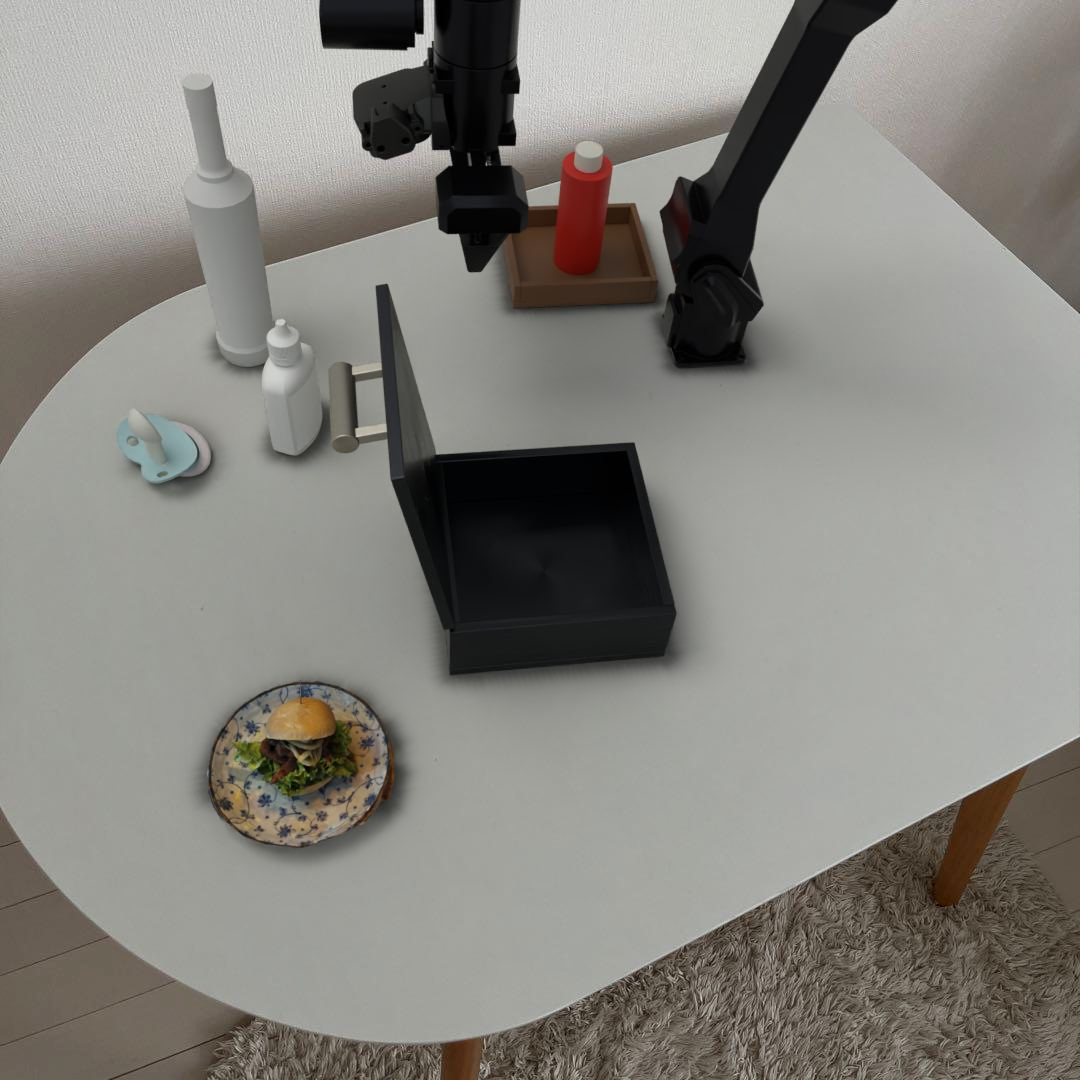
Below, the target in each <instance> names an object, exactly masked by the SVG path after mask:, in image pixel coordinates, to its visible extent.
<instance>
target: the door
mask: <svg viewBox="0 0 1080 1080" xmlns="http://www.w3.org/2000/svg"><path fill="white" fill-rule="evenodd" d="M391 293H392V292H391V290H390V286H389V283H382V284H376V285H375V299H376V313H377V324H378V326H377V327H378V336H379V349H380V361H377V362H372V363H371V362H370V363H365V364H360V365H359V364H358V365H353V364H351V363H349V362H346V361H337V362H334V363H333V364H331V365H330V366H329V368H328V373H327V375H328V394H329V395H328V396H329V420H330V421H329V422H330V423H329V424H330V446H331V448H332V449H333V450H334V451H335V452H337V453H339V454H350V453H351V454H352V453H353V452H355V451H356V450H358V448H359V447H360V445H363V444H368V443H373V442H380V441H386V440H387V451H388V453H387V454H388V463H389V465H388V466H389V478H390V482H391V484H392V488H393V491H394V493H395V496H396V499H397V502H398V505H399V507H400V511H401V513H402V516H403V519H404V522H405V524H406V527H407V529H408V534H409V536H410V538H411V541H412V544H413V547H414V550H415V553H416V556H417V558H418V562H419V565H420V566H421V570H422V572H423V576H424V578H425V582H426V584H427V587H428V589H429V592H430V595H431V598H432V602H433V604H434V607H435V609H436V612H437V616H438V618H439V621H440V623H441V626H442V629H443V631H445V630H448V629H454V628H455V620H454V611H453V602H452V593H451V584H450V574H449V565H448V556H447V547H446V538H445V529H444V520H443V511H442V502H441V493H440V484H439V475H438V466H437V457H436V454H437V450H436V446H435V442H434V439H433V436H432V432H431V429H430V424H429V421H428V418H427V414H426V411H425V408H424V404H423V401H422V396H421V394H420V390H419V387H418V384H417V380H416V377H415V373H414V370H413V366H412V362H411V359H410V356H409V352H408V349H407V346H406V342H405V338H404V334H403V332H402V328H401V324H400V321H399V318H398V313H397V311H396V308H395V304H394V300H393V297H392V294H391ZM380 378H382V388H383V389H382V390H383V401H384V413H385V414H384V415H385V422H383V423H378V424H372V425H371V424H370V425H366V426H360V427H359V417H358V416H359V415H358V399H357V384H356V383H359V382H364V381H370V380H376V379H380Z"/></svg>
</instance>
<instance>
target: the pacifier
mask: <svg viewBox="0 0 1080 1080" xmlns="http://www.w3.org/2000/svg"><path fill="white" fill-rule="evenodd" d="M115 438H116V444H117V446H118V448H119V450H120V451H121V453H122V454H123V455H124V457H126V458H127V459H128V460H129V461H131V462H133V463H135V464H138V465H140V466H141V468H140V469H141V470H140V471H141V475H142V477H143V478H144V480H145V481H146V482H148V483H151V484H162V483H166V482H168V481H171V480H173V479H175V478H177V477H184V478H185V477H187V478H188V477H195V476H198V475H201V474H202V473H204V471H206V470H207V469H208V467H209V465H210V464H211V461H212V451H211V447H210V445H209V443H208V441H207V440H206V439H205V437H204V436H203V435H202V434H201V433H200V432H199V431H198V430H197V429H196V428H193V427H192V426H190V425H188V424H186V423H182V422H180V421H173V420H170V419H167V418H165V417H164V416H162V415H157V414H152V413H143V412H142V411H140V410H139V409H138V408H137V407H133V408H132V409H130V411H129V413H128V417H126V418H125V419H123V420H122V422H121V423H120V424H119V425H118V428H117V430H116V437H115ZM130 439H135V440H137V441H138V443H137V444H136V445H132V444H129V443H128V442H129V440H130ZM197 449H198V450H197ZM198 451H199V452H198ZM198 453H199V455H198Z"/></svg>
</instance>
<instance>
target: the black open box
mask: <svg viewBox="0 0 1080 1080" xmlns="http://www.w3.org/2000/svg"><path fill="white" fill-rule="evenodd" d="M436 457H437V466H438V475H439V484H440V493H441V502H442V511H443V520H444V529H445V538H446V547H447V556H448V565H449V574H450V584H451V593H452V602H453V611H454V620H455V628H454V629H448V630H444V635H445V645H446V646H445V647H446V654H447V655H446V656H447V665H448V674H449V676H457V675H469V674H470V675H471V674H480V673H491V672H502V671H513V670H524V669H526V670H527V669H536V668H547V667H558V666H559V667H560V666H569V665H580V664H581V665H582V664H592V663H603V662H613V661H625V660H636V659H637V660H638V659H647V658H648V659H649V658H659V657H664V656H665V654H666V652H667V647H668V644H669V640H670V638H671V634H672V631H673V628H674V625H675V622H676V618H677V615H678V612H677V608H676V605H675V604H676V603H675V600H674V596H673V592H672V588H671V587H672V586H671V584H670V579H669V575H668V571H667V567H666V563H665V558H664V554H663V551H662V547H661V543H660V539H659V535H658V530H657V527H656V526H657V525H656V522H655V518H654V514H653V511H652V507H651V503H650V500H649V499H650V498H649V494H648V490H647V487H646V483H645V478H644V474H643V471H642V466H641V462H640V458H639V454H638V450H637V447H636V442H635V441H631V442H630V441H629V442H614V443H598V444H597V443H596V444H583V445H582V444H581V445H567V446H566V445H565V446H551V447H533V448H517V449H503V450H502V449H501V450H485V451H467V452H453V453H439V454H438V453H436Z"/></svg>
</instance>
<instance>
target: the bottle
mask: <svg viewBox="0 0 1080 1080" xmlns="http://www.w3.org/2000/svg"><path fill="white" fill-rule="evenodd" d="M181 85H182V91H183V94H184V99H185V104H186V108H187V110H188V114H189V120H190V124H191V129H192V134H193V139H194V145H195V149H196V153H197V158H198V162H197V163H196V165H195V168H194V169H195V170H194V171H193V172H192V173H190V174H189V175H188V176H187V177H186V178H185V179H184V180H183V184H182V188H181V190H182V194H183V198H184V200H185V206H186V209H187V214H188V218H189V221H190V227H191V229H192V233H193V237H194V241H195V246H196V249H197V253H198V257H199V261H200V265H201V269H202V273H203V277H204V281H205V284H206V285H205V286H206V289H207V293H208V296H209V299H210V300H209V301H210V305H211V309H212V313H213V316H214V320H215V325H216V332H215V338H216V342H217V345H218V348H219V351H220V353H221V355H222V356H223V358H225V360H227V361H228V362H229V363H230V364H232V365H235V366H237V367H241V368H242V367H244V368H252V367H257V366H261V365H263V364H265V363H266V361H267V359H268V357H269V351H268V345H267V339H266V337H267V334H268V332H269V331H270V330H271V329H272V328H274V327H275V325H276V321H274V318H273V312H272V306H271V298H270V291H269V285H268V275H267V269H266V263H265V256H264V249H263V248H264V247H263V242H262V235H261V227H260V221H259V220H260V219H259V214H258V206H257V199H256V191H255V185H254V182H253V179H252V177H251V175H249V174H248V173H247V172H245V170H243V169H241V168H239V167H237V166H234V165H233V163H232V161H230V159H228V158H227V154H226V149H225V144H224V137H223V133H222V127H221V123H220V117H219V111H218V102H217V96H216V91H215V86H214V80H213V77H211V76H210V75H209V74H205V73H204V72H203V73H202V72H193V73H190V74H188V75H185V76H184V77H183V78H182V81H181Z"/></svg>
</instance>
